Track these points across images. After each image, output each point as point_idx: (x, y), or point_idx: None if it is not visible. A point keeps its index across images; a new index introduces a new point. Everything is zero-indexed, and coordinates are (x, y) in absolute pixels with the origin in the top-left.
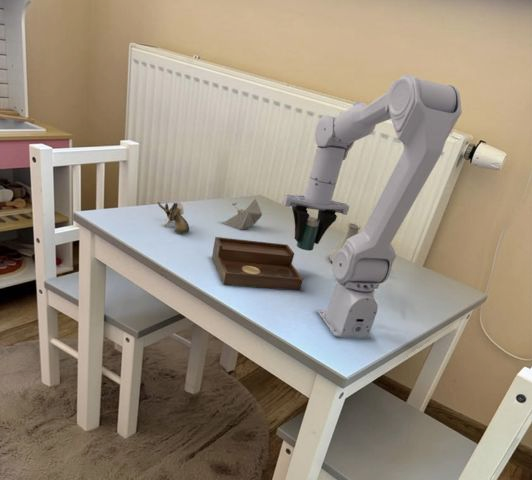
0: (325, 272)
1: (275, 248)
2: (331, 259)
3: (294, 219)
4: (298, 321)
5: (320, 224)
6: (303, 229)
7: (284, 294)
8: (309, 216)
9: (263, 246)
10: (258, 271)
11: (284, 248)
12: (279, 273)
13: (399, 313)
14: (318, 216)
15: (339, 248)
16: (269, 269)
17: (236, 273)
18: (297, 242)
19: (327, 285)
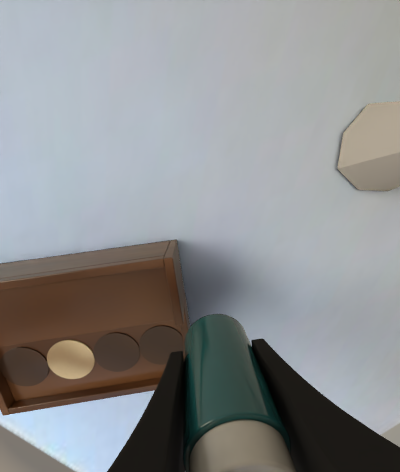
0: (290, 242)
1: (128, 280)
2: (342, 154)
3: (129, 441)
4: None
5: (300, 465)
6: (183, 466)
7: None
8: (240, 468)
9: (86, 280)
10: (89, 363)
11: (162, 267)
12: (144, 355)
13: (381, 383)
14: (323, 462)
15: (394, 150)
16: (119, 342)
17: (29, 410)
18: (184, 351)
19: (269, 314)
